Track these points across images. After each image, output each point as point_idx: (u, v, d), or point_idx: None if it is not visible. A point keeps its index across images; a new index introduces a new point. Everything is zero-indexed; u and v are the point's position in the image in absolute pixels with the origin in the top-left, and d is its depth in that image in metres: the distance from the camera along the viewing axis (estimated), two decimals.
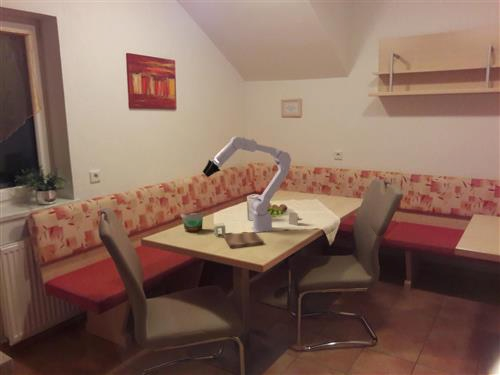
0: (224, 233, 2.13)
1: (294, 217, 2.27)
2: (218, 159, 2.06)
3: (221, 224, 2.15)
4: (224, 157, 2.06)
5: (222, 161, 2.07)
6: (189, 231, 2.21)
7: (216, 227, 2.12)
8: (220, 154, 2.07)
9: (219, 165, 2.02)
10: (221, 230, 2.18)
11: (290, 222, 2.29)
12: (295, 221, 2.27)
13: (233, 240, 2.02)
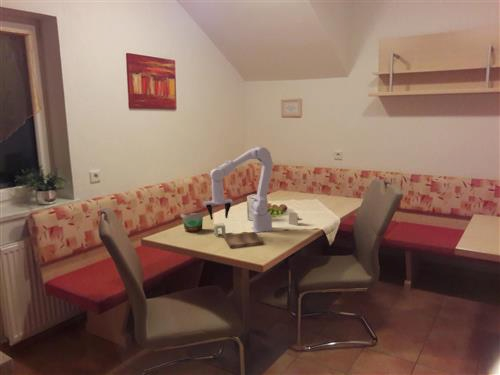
0: (224, 233, 2.13)
1: (294, 217, 2.27)
2: (223, 199, 2.11)
3: (221, 224, 2.15)
4: None
5: None
6: (189, 231, 2.21)
7: (216, 227, 2.12)
8: (222, 195, 2.10)
9: None
10: (221, 230, 2.18)
11: (290, 222, 2.29)
12: (295, 221, 2.27)
13: (233, 240, 2.02)
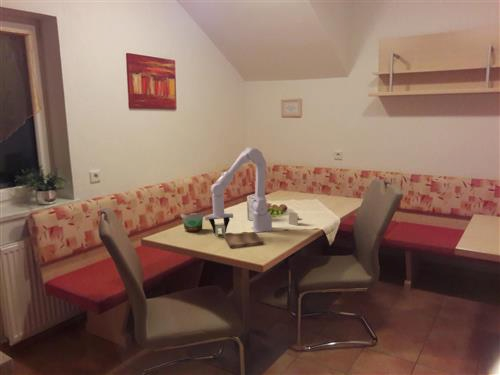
0: (224, 233, 2.13)
1: (294, 217, 2.27)
2: None
3: (221, 224, 2.15)
4: None
5: None
6: (189, 231, 2.21)
7: (216, 227, 2.12)
8: (222, 209, 2.11)
9: None
10: (221, 230, 2.18)
11: (290, 222, 2.29)
12: (295, 221, 2.27)
13: (233, 240, 2.02)
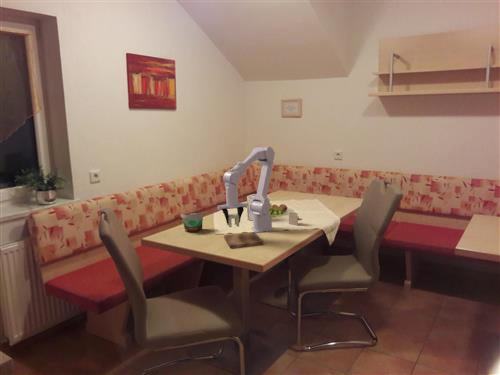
0: (238, 223, 2.05)
1: (294, 217, 2.26)
2: (237, 203, 2.04)
3: (234, 214, 2.06)
4: None
5: None
6: (189, 231, 2.21)
7: (229, 217, 2.03)
8: (236, 198, 2.03)
9: None
10: None
11: (290, 222, 2.29)
12: (295, 221, 2.27)
13: (233, 240, 2.02)
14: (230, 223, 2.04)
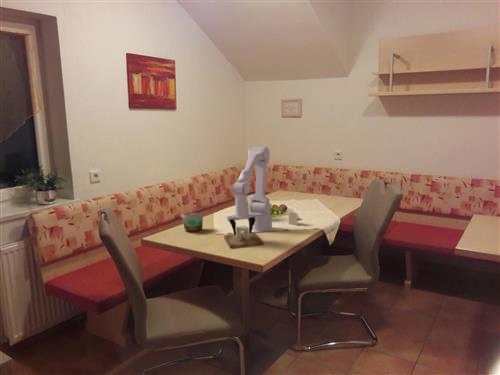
0: (247, 236, 2.02)
1: (294, 217, 2.26)
2: (247, 213, 2.01)
3: (244, 227, 2.03)
4: None
5: None
6: (189, 231, 2.21)
7: (239, 230, 2.00)
8: (246, 209, 1.99)
9: None
10: (244, 233, 2.06)
11: (290, 222, 2.29)
12: (295, 221, 2.27)
13: (233, 240, 2.02)
14: (240, 236, 2.01)
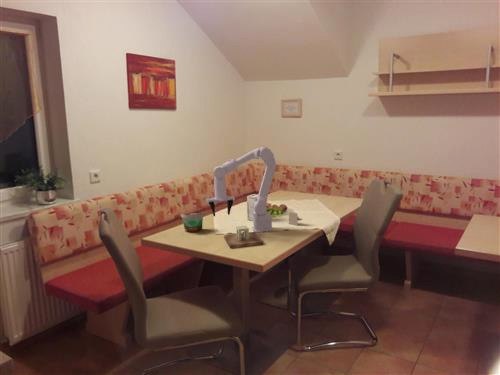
0: (247, 236, 2.02)
1: (294, 217, 2.26)
2: (225, 196, 2.15)
3: (244, 227, 2.03)
4: None
5: None
6: (189, 231, 2.21)
7: (239, 230, 2.00)
8: (224, 192, 2.14)
9: None
10: (244, 233, 2.06)
11: (290, 222, 2.29)
12: (295, 221, 2.26)
13: (233, 240, 2.02)
14: (240, 236, 2.01)
